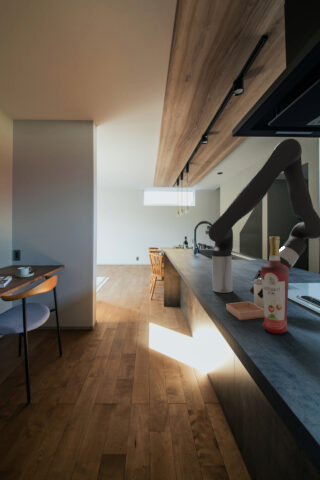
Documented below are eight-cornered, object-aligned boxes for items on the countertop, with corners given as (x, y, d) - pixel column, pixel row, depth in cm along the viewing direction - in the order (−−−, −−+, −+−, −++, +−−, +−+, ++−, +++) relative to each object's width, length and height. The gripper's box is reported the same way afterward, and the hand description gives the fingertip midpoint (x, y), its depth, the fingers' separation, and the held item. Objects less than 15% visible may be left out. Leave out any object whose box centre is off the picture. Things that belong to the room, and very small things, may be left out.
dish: (226, 310, 84) (226, 303, 84) (249, 307, 86) (249, 301, 86) (240, 320, 75) (240, 313, 75) (265, 317, 77) (265, 309, 77)
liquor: (293, 330, 67) (292, 236, 65) (284, 339, 62) (283, 237, 60) (267, 323, 72) (266, 236, 71) (257, 331, 67) (256, 237, 66)
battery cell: (251, 305, 88) (251, 278, 87) (261, 304, 89) (261, 277, 88) (258, 309, 84) (258, 280, 83) (269, 308, 85) (268, 279, 84)
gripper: (264, 252, 94) (238, 284, 92) (291, 256, 80) (261, 293, 78) (276, 264, 95) (250, 295, 93) (303, 270, 81) (274, 307, 79)
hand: (255, 294), depth 86 cm, fingers closed on battery cell, 4 cm apart
